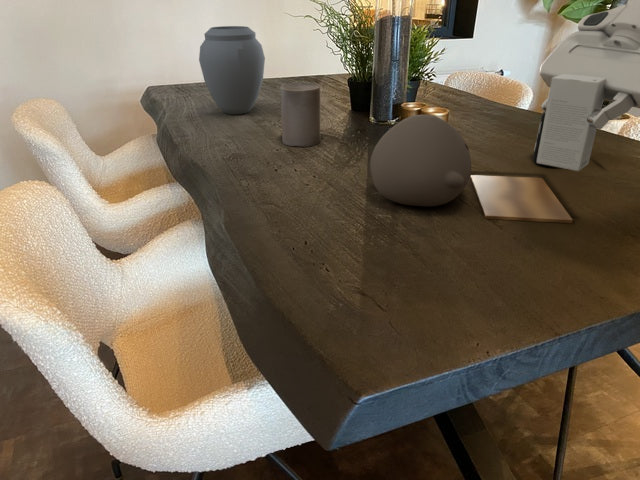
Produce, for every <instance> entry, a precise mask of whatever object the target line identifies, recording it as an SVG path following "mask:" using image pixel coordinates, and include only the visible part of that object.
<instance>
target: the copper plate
mask: <svg viewBox="0 0 640 480" xmlns="http://www.w3.org/2000/svg"><path fill="white" fill-rule="evenodd" d="M469 179H470V181H471V184H472V186H473V189H474V192H475V194H476V198H477V200H478V203H479V206H480V208H481V211H482V214H483V217H484V219H485V220H487V219H488V220H504V221H519V222H520V221H523V222H539V223H540V222H542V223H558V224H560V223H561V224H573V222H574V219H573V218H572V217H571V215H570V214H569V212H568V211H567V210H566V209H565V208H564V206H563V204H562V203H561V201H559V199H558V198H557V196H556V195H555V194H554V192H553V191H552V189H551V188H550V186H548V184H547V183H546V181H545V180H544V179H543V177H531V176H530V177H529V176H507V175H505V176H504V175H503V176H502V175H481V174H479V175H478V174H470V178H469Z"/></svg>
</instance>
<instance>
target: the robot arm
mask: <svg viewBox="0 0 640 480" xmlns="http://www.w3.org/2000/svg"><path fill="white" fill-rule="evenodd" d="M576 27H577V29H578V30H576V31H574V32H572V33H570V34H569V35H568V36H566V37H565V38H563V40H562V41H561V42H560V43H559V44H558V45H557V46H556V47H555V48H554V49H553V51H552V52H550V54H549V55H548V56H547V57H546V58H545V60H544V61H543V62H542V63H541V65H540V68H539V75H540V77H541V78H542V80H543V82H544V83H545V85H546V86H547V87H548V88H550V86H551V80H552V78H553V77H556V76H559V75H561V74H572V75H583V76H592V77H600V78H606V79H605V83H604V89H606V91H605V96H604V100H603V101H607V102H611V103H609V104H608V105H606V106H604V107H602V108H601V110H598V109H595V110H594V111H593V112H592V114H591V115H589V116H588V118H587V122H588V123H589V125H590V126H591V127H594V128H597V130H602V129H603V128H604V127H605V126H606V125H607V123H609V122H610V121H612V120H614V119H616V118H618V117H620V116H623V115H625V114H627V113H628V112H629V111H630V110H631V109H632V108H636V109H640V0H630V1H629V2H628V3H627V4H622V5H619V6H617V7H614V8H611V9H608V10H604V11H600V12H597V13H591V14H587V15H585V16H584V17H582V18H581V19H580V20H579V21H578V23H577V25H576ZM549 92H550V90H549V91H548V93H549ZM548 97H549V94H547V97H546V99H544V101H543V102H542V103H541V104H540V109H541V110H542V113H543V112H544V113H546V108H547V103H548Z"/></svg>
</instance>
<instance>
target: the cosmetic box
mask: <svg viewBox="0 0 640 480" xmlns="http://www.w3.org/2000/svg"><path fill="white" fill-rule="evenodd" d="M605 79H606V78H600V77H592V76H583V75H572V74H561V75H559V76H556V77H553V78H552V80H551V86H550V87H549V91H550V92H549V91H548V95H549V97H548V96H547V98H548V103H547V108H546V113H545V119H544V124H543V129H542V134H541V140H540V145H539V151H538V156H537V163H539V164H544V165H549V166H554V167H557V168H560V169H564V170H565V169H566V170H569V171H575V172H581V170H582V169H583V168H585V167H587V166H588V165H589V163H590V159H591V155H592V150H593V146H594V143H595V138H596V133H597V131H598V129H597V128H594V127H591V126H590V125H589V123H588V122H587V118H588V116H589V115H591V114H592V112H593V111H594V110H595V109H598V110H601V109H603V104H604V101H605V100H604V96H605V91H606V89H604V83H605Z"/></svg>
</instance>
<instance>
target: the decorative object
mask: <svg viewBox="0 0 640 480" xmlns="http://www.w3.org/2000/svg"><path fill="white" fill-rule="evenodd" d="M464 139H465V138H463V136H462V135H461V134H460V132H459V131H458V130H457V129H456V128H455V127H454V126H452V124H450V123H449V122H447V121H446V120H444V119H443V118H441V117H439V116H436V115H433V114H416V115H411V116H409V117H406V118H404V119H402V120H401V121H399V122H397V123H396V124H395V125H393V126H392V127H391V128H389V129H388V130H387V131H386V132H385V133H384V134H383V135H382V137H381V138H380V139H379V140H378V142H377V143H376V145H375V147H374V149H373V151H372V154H371V157H370V162H369V170H370V175H371V179H372V182H373V185H374V187H375V189H376V191H378V193H379V194H380V195H381V196H383V197H384V198H385V199H387V200H388V201H391V202H394V203H396V204H400V205H404V206H414V207H437V206H443V205H445V204H447V203H449V202H451V201H453V200H454V199H456V198H457V197H458V196H459V195H460V194H461V193H462V192H463V191H464V189H465V188H466V187H467V185H468V183H469V181H470V179H471V178H470V175H472V159H471V154H470V150H469V147H468V145H467V143H466V141H465V140H464Z"/></svg>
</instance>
